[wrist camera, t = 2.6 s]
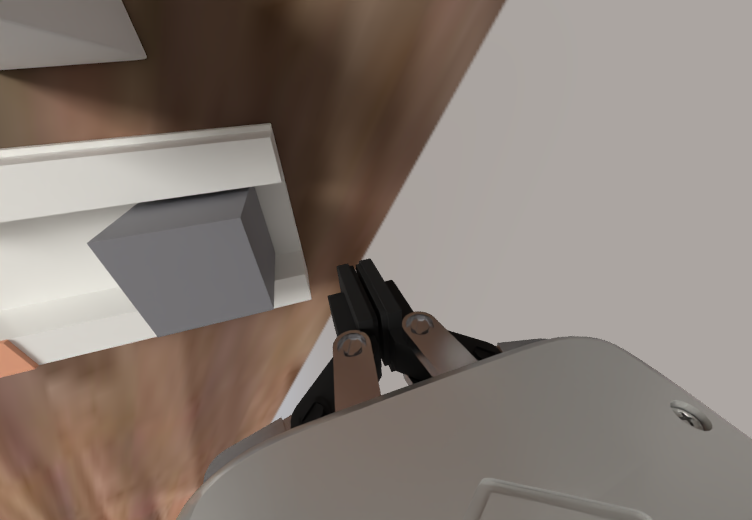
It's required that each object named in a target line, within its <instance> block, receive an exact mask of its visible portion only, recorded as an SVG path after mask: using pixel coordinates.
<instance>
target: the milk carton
mask: <svg viewBox="0 0 752 520" xmlns="http://www.w3.org/2000/svg"><path fill="white" fill-rule="evenodd" d="M146 58H147V56H146V53H145V51H144V49H143V47H142V45H141V42H140V40H139V38H138V36H137V33H136V31H135V29H134V27H133V25H132V22H131V20H130V18H129V16H128V14H127V11H126V9H125V7H124V5H123V2H122V0H0V70H10V69H24V68H37V67H51V66H64V65H78V64H91V63H105V62H118V61H131V60H142V59H146Z"/></svg>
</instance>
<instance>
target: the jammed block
mask: <svg viewBox="0 0 752 520" xmlns="http://www.w3.org/2000/svg"><path fill="white" fill-rule="evenodd" d="M87 245H88V246H89V247H90V248H91V250H92V251H93V252H94V254H95V255H96V256H97V258H98V259H99V260H100V262H101V263H102V264H103V266H104V267H105V268H106V270H107V271H108V272H109V274H110V275H111V276H112V278H113V279H114V280H115V281H116V283H117V284H118V285H119V287H120V288H121V289H122V291H123V292H124V293H125V295H126V296H127V297H128V299H129V300H130V301H131V303H132V304H133V305H134V307H135V308H136V309H137V311H138V312H139V313H140V315H141V316H142V317H143V318H144V320H145V321H146V322H147V324H148V325H149V326H150V328H151V329H152V330H153V332H154V333H155V334H156V336H157V337H161V336H165V335H170V334H174V333H178V332H182V331H186V330H190V329H194V328H199V327H203V326H207V325H211V324H215V323H219V322H223V321H228V320H232V319H236V318H240V317H244V316H248V315H252V314H257V313H261V312H265V311H269V310H273V309H274V285H275V250H274V247H273V244H272V241H271V237H270V234H269V231H268V228H267V225H266V222H265V218H264V215H263V212H262V209H261V206H260V203H259V199H258V196H257V193H256V190H255V187H254V186H253V187H246V188H239V189H231V190H224V191H217V192H210V193H203V194H196V195H189V196H182V197H175V198H168V199H161V200H154V201H147V202H140V203H137V204H136V205H135V206H133V207H132V208H131V209H130V210H128V211H127V212H126V213H125V214H123V215H122V216H121V217H119V218H118V219H117V220H116V221H114V222H113V223H112V224H110V225H109V226H108V227H107V228H105V229H104V230H103V231H102V232H100V233H99V234H98V235H96V236H95V237H94V238H93V239H91V240H90V241H89V242H87Z"/></svg>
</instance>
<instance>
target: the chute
mask: <svg viewBox="0 0 752 520" xmlns="http://www.w3.org/2000/svg"><path fill="white" fill-rule="evenodd" d="M253 186H254V187H255V190H256V193H257V196H258V199H259V203H260V206H261V209H262V212H263V215H264V218H265V222H266V225H267V228H268V231H269V234H270V237H271V241H272V244H273V247H274V250H275V285H274V308H278V307H282V306H286V305H290V304H294V303H299V302H303V301H307V300H311V299H312V298H311V292H310V286H309V279H308V271H307V267H306V263H305V259H304V255H303V251H302V247H301V243H300V239H299V235H298V231H297V227H296V223H295V219H294V215H293V211H292V207H291V203H290V199H289V195H288V191H287V186H286V182H285V178H284V174H283V170H282V166H281V162H280V158H279V154H278V150H277V146H276V142H275V138H274V134H273V130H272V126H271V123H265V124H255V125H244V126H234V127H223V128H213V129H202V130H192V131H181V132H171V133H160V134H150V135H139V136H129V137H118V138H108V139H97V140H87V141H76V142H65V143H55V144H44V145H34V146H23V147H13V148H2V149H0V377H4V376H9V375H13V374H17V373H21V372H25V371H29V370H33V369H36V368H37V367H38V365H41V364H45V363H49V362H53V361H58V360H62V359H66V358H70V357H74V356H78V355H82V354H87V353H91V352H95V351H99V350H103V349H107V348H112V347H116V346H120V345H124V344H128V343H132V342H136V341H141V340H145V339H149V338H153V337H157V336H156V334H155V333H154V332H153V330H152V329H151V328H150V326H149V325H148V324H147V322H146V321H145V320H144V318H143V317H142V316H141V315H140V313H139V312H138V311H137V309H136V308H135V307H134V305H133V304H132V303H131V301H130V300H129V299H128V297H127V296H126V295H125V293H124V292H123V291H122V289H121V288H120V287H119V285H118V284H117V283H116V281H115V280H114V279H113V278H112V276H111V275H110V274H109V272H108V271H107V270H106V268H105V267H104V266H103V264H102V263H101V262H100V260H99V259H98V258H97V256H96V255H95V254H94V252H93V251H92V250H91V248H90V247H89V246H88V245H87V242H89V241H90V240H91V239H93V238H94V237H95V236H96V235H98V234H99V233H100V232H102V231H103V230H104V229H105V228H107V227H108V226H109V225H110V224H112V223H113V222H114V221H116V220H117V219H118V218H119V217H121V216H122V215H123V214H125V213H126V212H127V211H128V210H130V209H131V208H132V207H133V206H135V205H136V204H137V203H140V202H147V201H154V200H161V199H168V198H175V197H182V196H189V195H196V194H203V193H210V192H217V191H224V190H231V189H239V188H246V187H253Z"/></svg>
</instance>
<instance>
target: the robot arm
mask: <svg viewBox="0 0 752 520" xmlns="http://www.w3.org/2000/svg"><path fill="white" fill-rule="evenodd" d="M337 272H338V277H339V283H340V289H341V293H337V294H333V295H329V296H328V300H329V305H330V310H331V314H332V318H333V322H334V326H335V330H336V334H337V338H336V339H335V341H334V343H333V358H332V359H331V360H330V362H329V363H328V365H327V366H326V367H325V369H324V370H323V371H322V373H321V374H320V375H319V377H318V378H317V379H316V381H315V382H314V383H313V385H312V386H311V387H310V389H309V390H308V391H307V393H306V394H305V395H304V397H303V398H302V400H301V401H300V402H299V404H298V405H297V406H296V408H295V410H294V412H293V413H292V415H290V416H289V417H287V418H285V419H284V420H282V418H279V419H278V420H276V421H274V422H273V423H271V424H269V425H267V426H266V427H264V428H262V429H261V430H259V431H257V432H255V433H254V434H252V435H250V436H248V437H247V438H245V439H243V440H242V441H240V442H238V443H236V444H235V445H233V446H231V447H230V448H228V449H226V450H224V451H223V452H222V453H220V454H219V455H218V456H217V457H216V458H215V459H214V460H213V461H212V463H211V464H210V465H209V467H208V469H207V471H206V473H205V477H204V483H203V485H202V486H200V487H199V488H198V489H197V491H196V492H195V493H194V494H193V495H192V496H191V497H190V499H189V500H188V501H187V503H186V504H185V505H184V507H183V508H182V510H181V512H180V514H179V515H178V517H177V519H176V520H752V439H751V438H750V437H748V436H747V435H746V434H744V433H743V432H741V431H740V430H739V429H737V428H736V427H735V426H733V425H732V424H730V423H729V422H728V421H726V420H725V419H724V418H722V417H721V416H720V415H718V414H717V413H716V412H714V411H713V410H711V409H710V408H709V407H707V406H706V405H704V404H703V403H702V402H701V401H699V400H698V399H696V398H695V397H694V396H692V395H691V394H689V393H688V392H687V391H685V390H684V389H682V388H681V387H680V386H678V385H677V384H675V383H674V382H672V381H671V380H670V379H668V378H667V377H665V376H664V375H662V374H661V373H660V372H658V371H657V370H655V369H654V368H652V367H651V366H649V365H648V364H646V363H645V362H643V361H642V360H640V359H639V358H637V357H635V356H634V355H632V354H631V353H629V352H627V351H626V350H624V349H622V348H620V347H618V346H617V345H615V344H612V343H610V342H608V341H605V340H601V339H597V338H591V337H574V336H569V337H557V338H552V339H531V340H522V341H512V342H502V343H497V346H494V345H493V344H490V343H488V342H485V341H481V340H478V339H475V338H471V337H468V336H465V335H461V334H458V333H455V332H451V331H448V330H446V329H445V328H444V327H443V326H442V325H441V324H440V323H439V322H438V321H437V320H436V319H435V318H434V317H433V316H432V315H430V314H428V313H425V312H413V310H412V309H411V307H410V306H409V304H408V303H407V301H406V300H405V298H404V297H403V295H402V294H401V292H400V291H399V289H398V288H397V286H396V285H395V283H394V282H393V281H392V280H389V281H385V282H384V280H383V278H382V277H381V275H380V273H379V272H378V270H377V268H376V267H375V265H374V264H373V262H372V260H371V259H366V260H361V261H359V264H357V265H356V271H355V269H354V267H353V266H349V265H348V264H344V265H340V266H337ZM356 272H357V273H356ZM381 359H382V361H383V363H384V365H385V366H387V365H389V367H390V369H391V372H393V371H398V372H400V373H403V376H404V379H405V381H406V382H407V383H408V385H409V386H407V387H404V388H401V389H398V390H395V391H392V392H390V393H387V394H384V395H381V394H380V388H379V383H378V382H379V380H380V378H381V376H382V373H381Z"/></svg>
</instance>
